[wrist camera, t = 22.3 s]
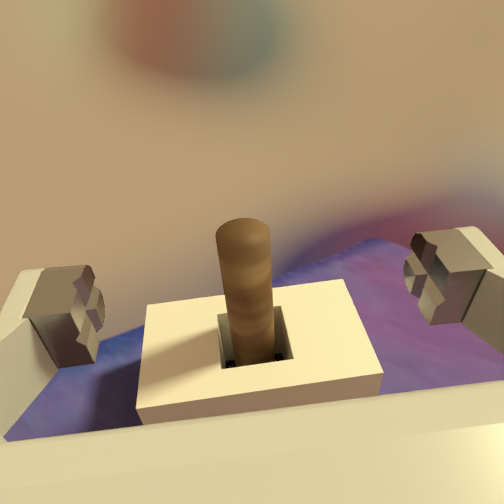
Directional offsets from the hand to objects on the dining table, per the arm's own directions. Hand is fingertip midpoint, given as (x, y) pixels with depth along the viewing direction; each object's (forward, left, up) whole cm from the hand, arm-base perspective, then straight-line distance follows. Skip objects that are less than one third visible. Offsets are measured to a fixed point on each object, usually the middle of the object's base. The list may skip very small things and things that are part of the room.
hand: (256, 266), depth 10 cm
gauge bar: (+10, +4, -22) cm, 25 cm away
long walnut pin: (+11, +4, -22) cm, 25 cm away
